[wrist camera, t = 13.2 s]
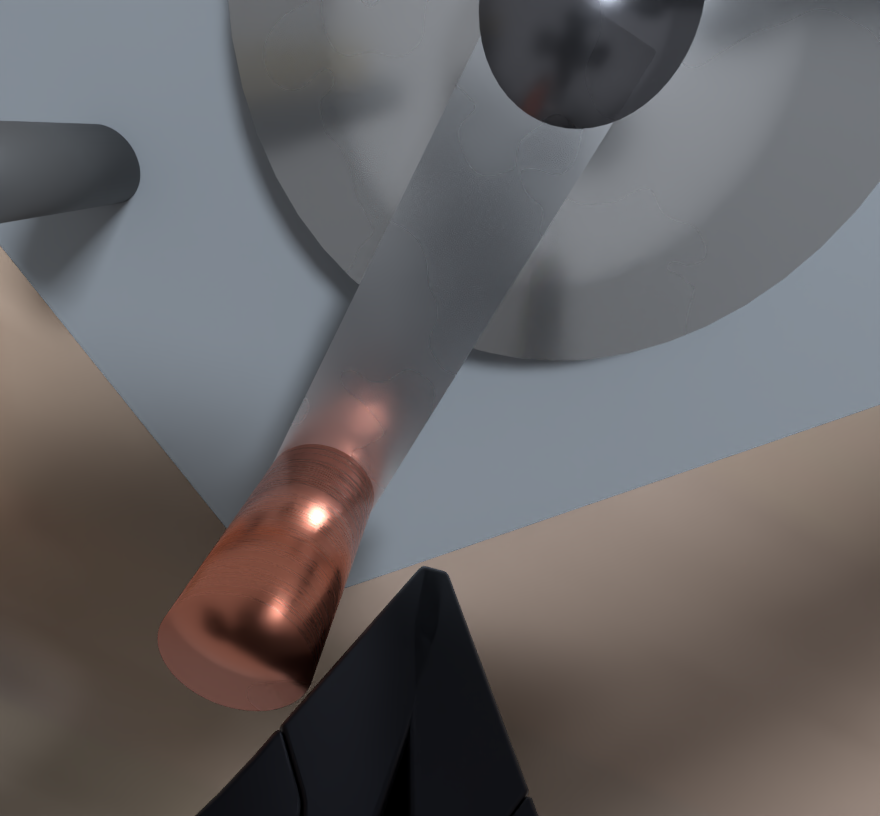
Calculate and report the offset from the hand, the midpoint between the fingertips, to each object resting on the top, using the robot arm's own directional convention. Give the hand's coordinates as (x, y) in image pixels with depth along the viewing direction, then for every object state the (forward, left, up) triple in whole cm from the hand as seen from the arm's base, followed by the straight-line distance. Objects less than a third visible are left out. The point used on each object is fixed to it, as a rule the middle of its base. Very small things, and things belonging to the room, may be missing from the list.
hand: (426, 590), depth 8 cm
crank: (-3, -5, -3) cm, 6 cm away
